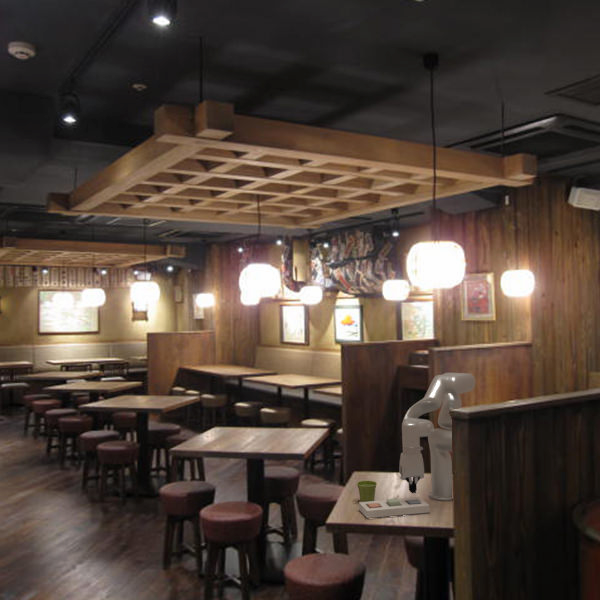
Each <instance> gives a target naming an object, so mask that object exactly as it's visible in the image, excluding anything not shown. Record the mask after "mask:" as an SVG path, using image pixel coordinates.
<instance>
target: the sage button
mask: <svg viewBox="0 0 600 600" xmlns="http://www.w3.org/2000/svg"><path fill="white" fill-rule="evenodd" d="M398 499H399V498H387V499H386V500H387V505H388V506H389V507H390V506H400V501H399V500H398Z"/></svg>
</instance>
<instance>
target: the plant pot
mask: <svg viewBox="0 0 600 600" xmlns="http://www.w3.org/2000/svg"><path fill="white" fill-rule="evenodd" d="M377 485H378V482H376V481H374V480H359V481H357V482H356V486H357V489H358V492H359V493H358V494H359V500H360V501H359V502H369V501H375V497H376V496H375V495H376V488H377Z"/></svg>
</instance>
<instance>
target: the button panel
mask: <svg viewBox="0 0 600 600" xmlns="http://www.w3.org/2000/svg"><path fill="white" fill-rule="evenodd" d="M397 499H398V500H399V501H400V506H390V507H389V506H388V505H387V499H384V500H383V499H382V500H374V501H369V502H361V501H358V511H359V512H360V513H361V514H362V515H363V517H365V519H366V518H367V519H366V520H370V519H369V518H377V519H383V518H382V517H387V518H391V517H390V516H398V517H404V516H403V515H409V516H419V515H429V514H430V512H431V511H430V510H431V509H430V507H431V506H430V504H428V503H427V502H426V501H425V500H423V499H422V498H421V497H419V496H418V497H417V496H416V497H406V498H405V497H404V498H397ZM407 500H417V501H418V502H420V504H412V505H409V504H408V503H407ZM371 503H378V504H379V505H380V507H379V508H369V507H368V505H367V504H371Z"/></svg>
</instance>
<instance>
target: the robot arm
mask: <svg viewBox="0 0 600 600" xmlns="http://www.w3.org/2000/svg"><path fill="white" fill-rule="evenodd" d="M475 387H476V377H475V376H474V375H473V374H472V373H467V372H466V373H465V372H445V373H443V374H437V375H435V376H434V377H433V378H432V380H431V383H430V385H429V387H428V389H427V391H426V393H425V394H424V397H423V398H422V399H420V400H419V401H417V402H416V403H414V404H413V405H411V407H409V409H407V411H406V413H405V415H404V417H403V420H402V423H401V434H402V435H401V438H402V442H401V443H402V452H401V453H400V458H399V471H398V472H399V475H400V477H399V479H400V480H402V481H406V482H407V483H408V490H409V492H410V493H411V494H416V493H417V489H418V488H417V484H418V482H419V481H420V480H421V479H422V480H423V479H424V478H425V464H424V458H423V454H422V451H423V450H424V447H423V446H421V443H420V442H421V439H420V438H426V437H427V440H428V441H427V442H428V446H429V451H430V452H429V453H430V472H431V473H430V474H431V475H430V477H431V491H429V492H428V494H427V495H428V497H429V499H432V500H435V501H441V502H442V501H445V502H447V501H453V500H452V486H453V464H452V463H453V461H452V456H451V454H450V452H453V451H452V419H451V416H450V414H449V411H450V410H452V409H459V408H461V407H462V404H463V403H462V401H463V400H462V399H461V396H460V395H461V394H465V393H470V392H472V391H473V390H474V388H475ZM459 394H460V395H459ZM440 408H441V409H440ZM438 409H440V411H439V414H438V418H437V424H438V426H440V428H435V426H434V424H433V422H432V421H431V420H429V419H424V418H419V417H421V416H422V415H424V414H427V413H430V412H434V411H436V410H438Z"/></svg>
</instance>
